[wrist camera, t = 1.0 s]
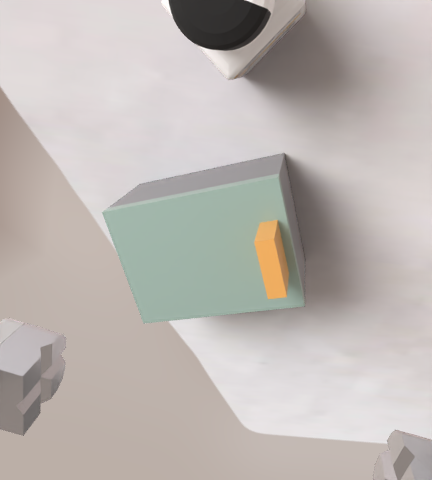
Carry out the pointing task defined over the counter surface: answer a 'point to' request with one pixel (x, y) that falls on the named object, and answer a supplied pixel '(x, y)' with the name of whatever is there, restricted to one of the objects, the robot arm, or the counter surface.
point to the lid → (209, 251)
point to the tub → (226, 176)
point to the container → (235, 28)
